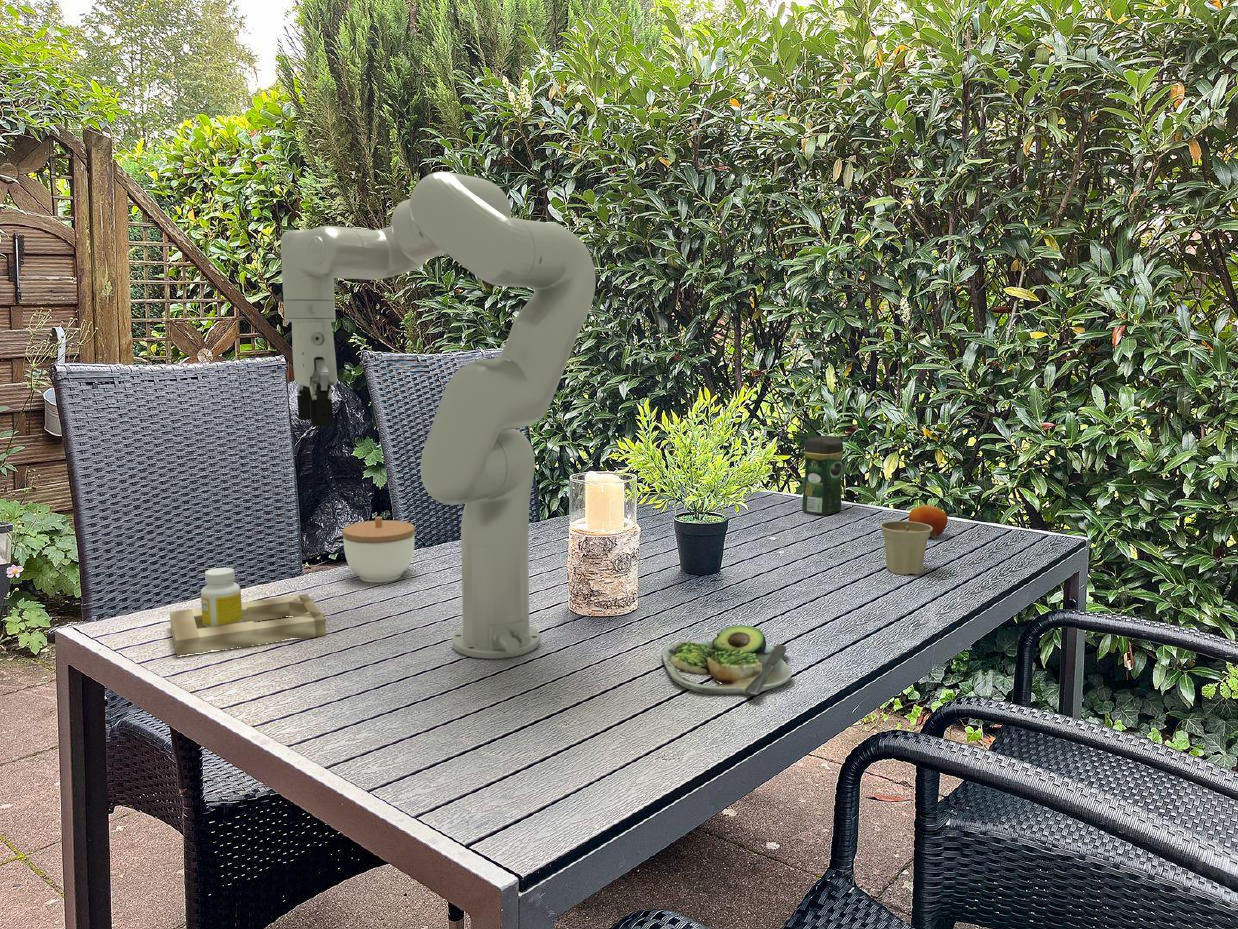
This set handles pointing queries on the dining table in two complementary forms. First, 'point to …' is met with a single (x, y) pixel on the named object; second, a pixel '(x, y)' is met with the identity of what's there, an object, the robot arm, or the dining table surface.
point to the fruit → (930, 518)
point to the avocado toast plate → (729, 662)
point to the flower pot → (905, 545)
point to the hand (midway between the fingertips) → (315, 422)
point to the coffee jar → (822, 475)
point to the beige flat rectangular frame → (249, 625)
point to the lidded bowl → (379, 549)
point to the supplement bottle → (221, 598)
